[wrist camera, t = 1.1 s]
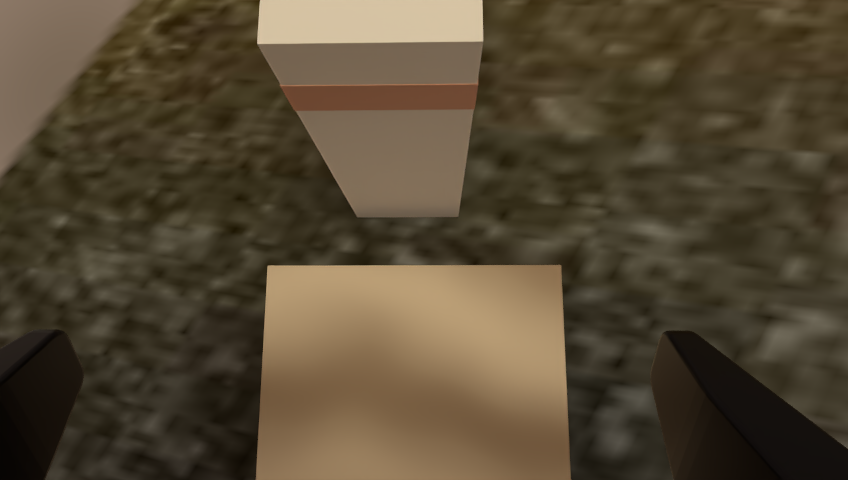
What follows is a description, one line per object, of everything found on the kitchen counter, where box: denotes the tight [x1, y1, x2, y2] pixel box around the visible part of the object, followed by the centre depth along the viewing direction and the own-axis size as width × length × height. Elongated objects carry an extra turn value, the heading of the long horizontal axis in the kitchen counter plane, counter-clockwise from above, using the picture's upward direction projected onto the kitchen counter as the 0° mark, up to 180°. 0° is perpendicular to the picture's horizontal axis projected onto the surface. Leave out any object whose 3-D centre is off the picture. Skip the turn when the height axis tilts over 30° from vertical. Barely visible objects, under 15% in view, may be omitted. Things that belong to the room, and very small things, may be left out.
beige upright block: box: [257, 0, 483, 217], centre depth 17 cm, size 5×4×13 cm
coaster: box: [256, 265, 571, 480], centre depth 21 cm, size 11×11×1 cm
